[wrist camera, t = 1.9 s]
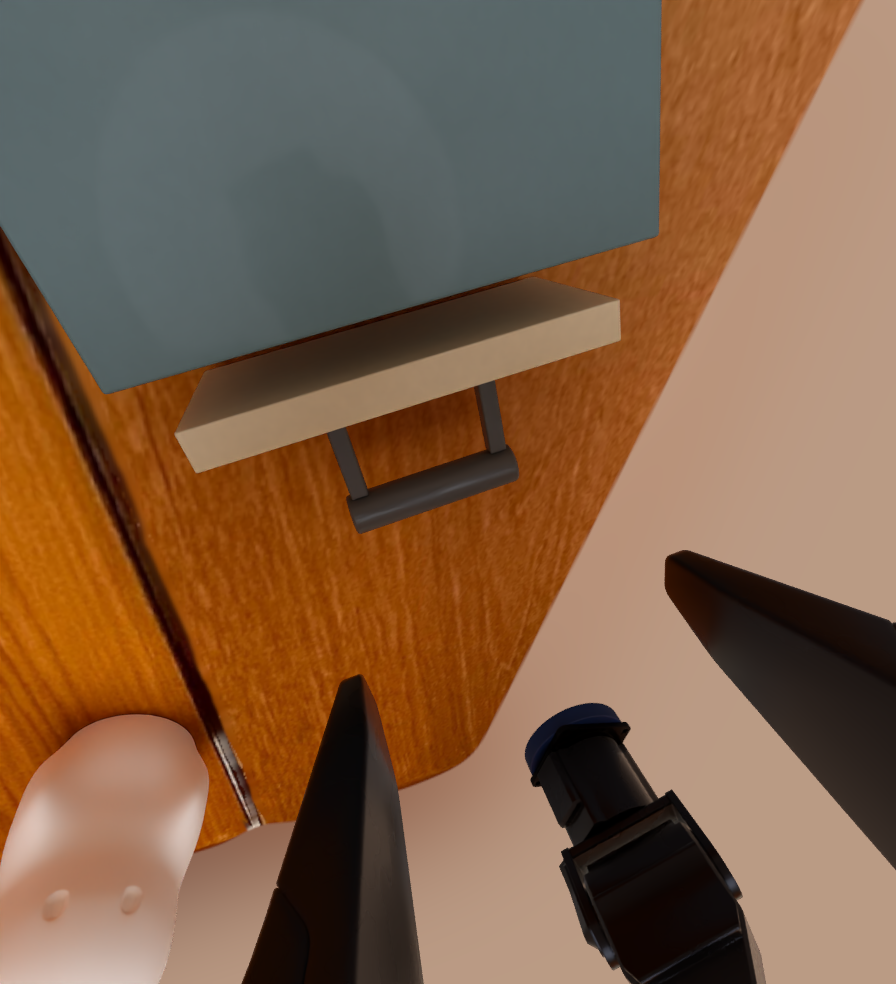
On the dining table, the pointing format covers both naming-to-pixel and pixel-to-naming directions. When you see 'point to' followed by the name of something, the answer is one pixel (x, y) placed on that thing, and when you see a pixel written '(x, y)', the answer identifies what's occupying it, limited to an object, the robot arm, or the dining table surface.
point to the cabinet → (311, 160)
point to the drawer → (397, 388)
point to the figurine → (101, 855)
